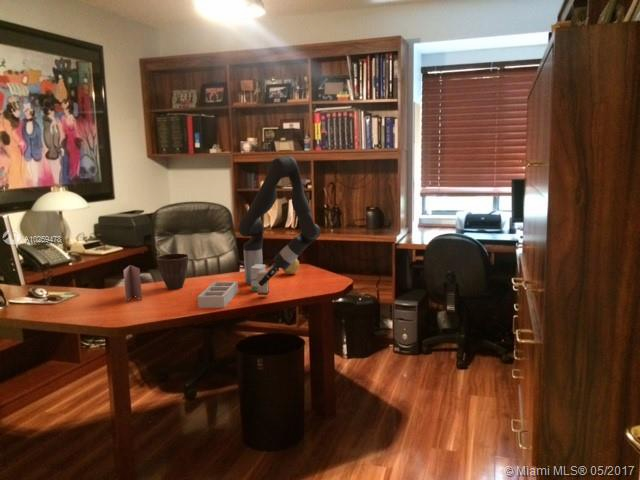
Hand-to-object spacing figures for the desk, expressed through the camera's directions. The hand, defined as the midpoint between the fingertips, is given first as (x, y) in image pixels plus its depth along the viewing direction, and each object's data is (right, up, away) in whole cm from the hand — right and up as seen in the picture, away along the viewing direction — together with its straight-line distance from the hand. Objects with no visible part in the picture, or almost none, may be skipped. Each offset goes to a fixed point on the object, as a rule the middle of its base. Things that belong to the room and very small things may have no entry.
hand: (261, 283), depth 245 cm
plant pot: (-45, -4, +23) cm, 51 cm away
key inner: (-19, -3, +7) cm, 20 cm away
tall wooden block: (+1, -5, +1) cm, 5 cm away
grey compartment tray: (-19, -7, 0) cm, 20 cm away
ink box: (-3, -5, +15) cm, 16 cm away
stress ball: (+11, +1, +46) cm, 47 cm away
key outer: (-20, -6, -9) cm, 23 cm away
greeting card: (-59, -8, +5) cm, 59 cm away
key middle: (-19, -5, -1) cm, 20 cm away
